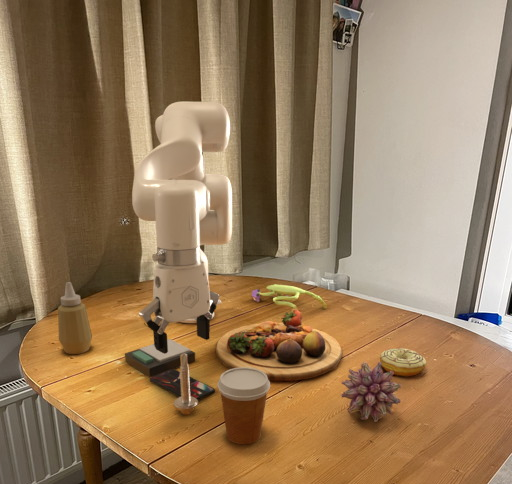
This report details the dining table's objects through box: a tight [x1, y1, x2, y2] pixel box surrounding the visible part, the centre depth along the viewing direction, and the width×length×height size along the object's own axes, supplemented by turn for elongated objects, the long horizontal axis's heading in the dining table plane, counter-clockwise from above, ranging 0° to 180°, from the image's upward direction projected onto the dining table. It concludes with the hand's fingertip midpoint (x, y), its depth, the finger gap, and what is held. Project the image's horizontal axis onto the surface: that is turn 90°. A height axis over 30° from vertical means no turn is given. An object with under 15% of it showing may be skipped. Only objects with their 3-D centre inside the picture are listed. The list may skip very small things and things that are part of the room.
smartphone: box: [149, 368, 216, 401], centre depth 111 cm, size 7×1×15 cm
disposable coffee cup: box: [216, 367, 271, 445], centre depth 91 cm, size 10×10×12 cm
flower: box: [340, 361, 403, 423], centre depth 98 cm, size 12×12×12 cm
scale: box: [124, 338, 196, 378], centre depth 122 cm, size 13×11×3 cm
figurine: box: [251, 283, 328, 310], centre depth 163 cm, size 18×27×6 cm
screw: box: [173, 353, 199, 416], centre depth 99 cm, size 13×5×5 cm
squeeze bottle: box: [57, 281, 93, 355], centre depth 125 cm, size 8×8×18 cm
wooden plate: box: [215, 309, 343, 382], centre depth 126 cm, size 32×32×8 cm
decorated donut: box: [379, 347, 427, 377], centre depth 120 cm, size 10×11×4 cm
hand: (183, 344), depth 95 cm, fingers open, 9 cm apart
